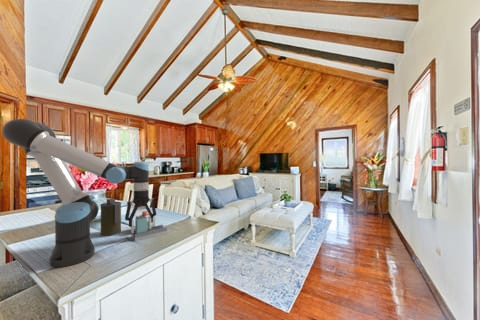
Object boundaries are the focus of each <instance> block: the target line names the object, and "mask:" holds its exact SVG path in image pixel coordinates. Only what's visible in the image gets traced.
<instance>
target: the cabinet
mask: <svg viewBox="0 0 480 320" xmlns="http://www.w3.org/2000/svg"><path fill="white" fill-rule="evenodd" d="M152 214H153V212H152ZM139 216H142V213H139V214H135V218H137V217H139ZM145 217H146V218H147V228H148V217H150V215H149V216H145ZM154 226H156V215H155V216H154V217H153V222H152V223H151V227H154Z"/></svg>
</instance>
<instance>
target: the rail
mask: <svg viewBox="0 0 480 320" xmlns="http://www.w3.org/2000/svg"><path fill="white" fill-rule="evenodd" d="M165 234H168V227H164V224H159V225H155V226H154V227H151V229H149V228H147V232H143V233H138V234H135V230H134V233H132V232H131V238H132V240H134V241H135V242H137V241H140V240H145V239H149V238H153V237H157V236H161V235H165Z"/></svg>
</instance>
